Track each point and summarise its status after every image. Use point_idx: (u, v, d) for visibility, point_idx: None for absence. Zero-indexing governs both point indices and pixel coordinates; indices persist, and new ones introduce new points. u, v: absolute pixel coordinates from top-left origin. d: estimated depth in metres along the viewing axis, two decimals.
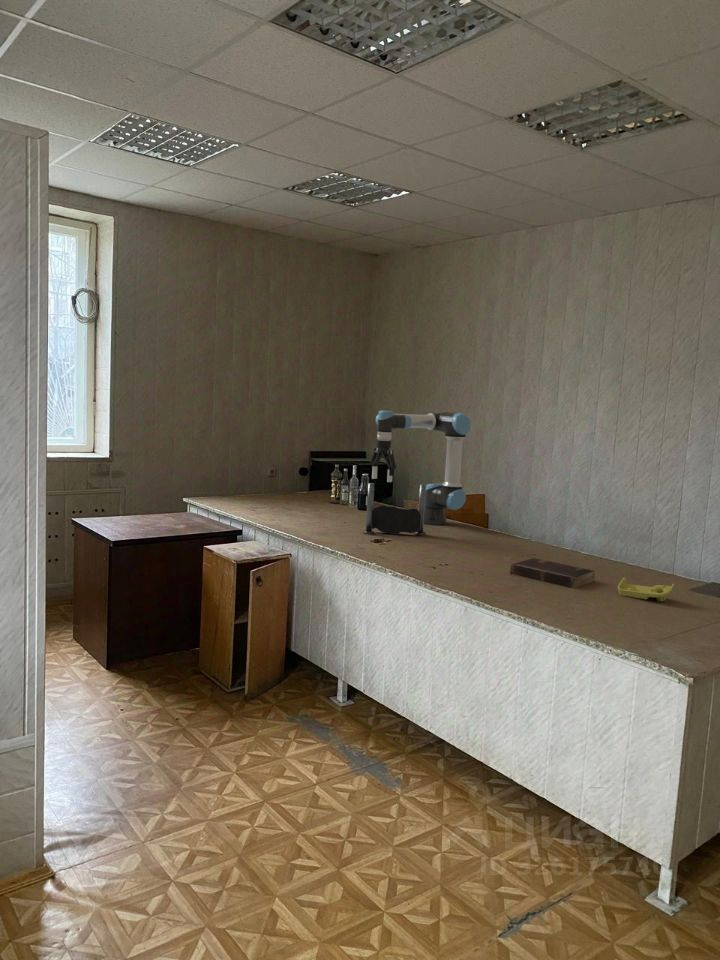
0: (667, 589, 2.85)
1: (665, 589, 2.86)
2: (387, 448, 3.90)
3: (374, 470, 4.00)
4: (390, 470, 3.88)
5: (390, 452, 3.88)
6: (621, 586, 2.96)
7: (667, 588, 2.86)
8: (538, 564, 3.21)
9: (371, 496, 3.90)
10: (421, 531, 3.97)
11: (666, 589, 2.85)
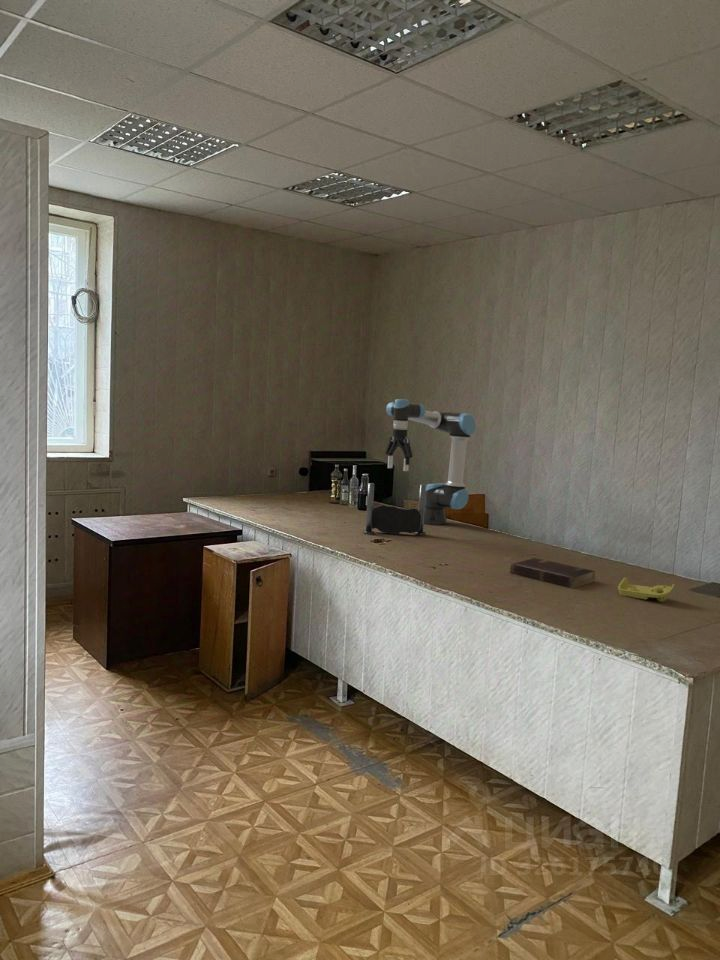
0: (667, 589, 2.85)
1: (665, 589, 2.85)
2: (403, 437, 3.87)
3: (390, 459, 3.96)
4: (406, 459, 3.84)
5: (406, 441, 3.84)
6: (622, 586, 2.96)
7: (667, 588, 2.85)
8: (538, 564, 3.21)
9: (371, 496, 3.90)
10: (421, 531, 3.97)
11: (666, 589, 2.85)
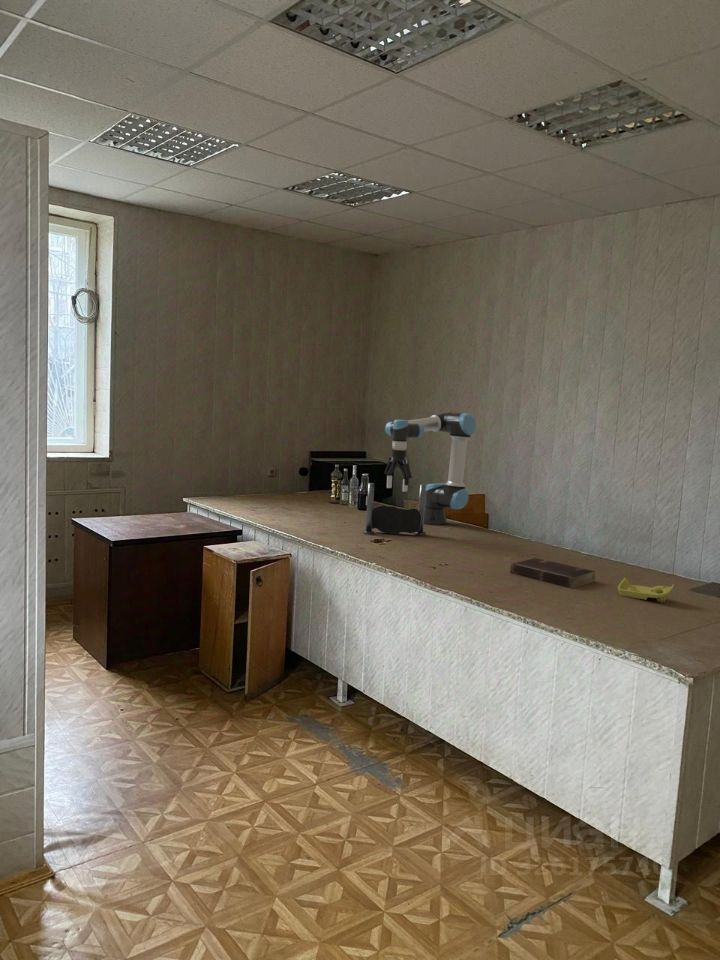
0: (667, 590, 2.84)
1: (665, 590, 2.85)
2: (402, 457, 3.88)
3: (389, 479, 3.98)
4: (405, 480, 3.86)
5: (405, 461, 3.86)
6: (622, 586, 2.95)
7: (667, 589, 2.85)
8: (538, 564, 3.21)
9: (371, 496, 3.90)
10: (421, 531, 3.97)
11: (666, 590, 2.84)
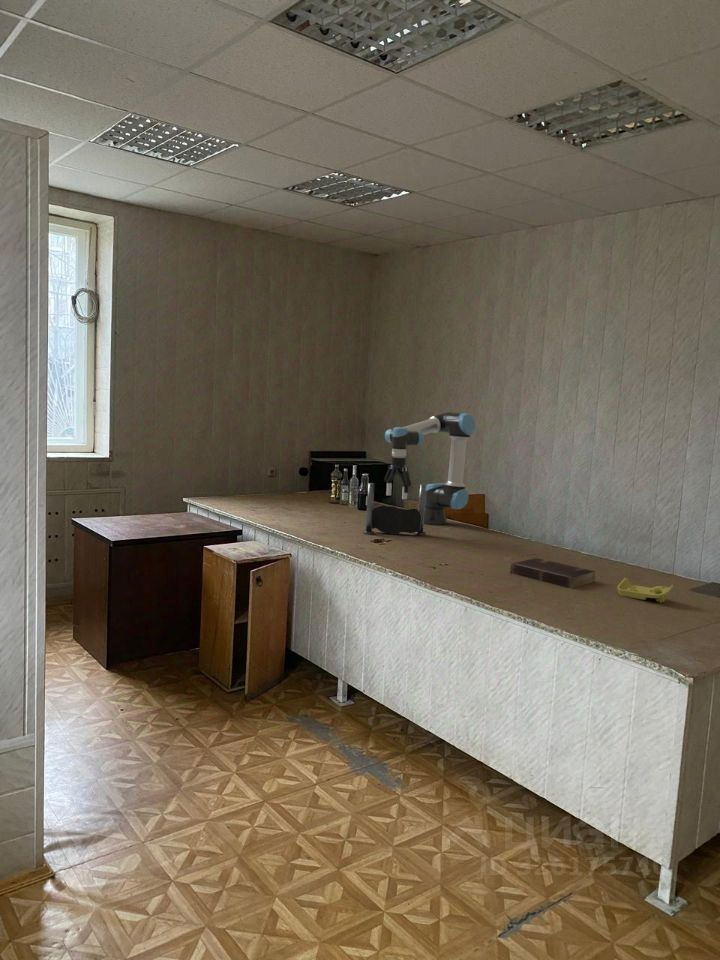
0: (666, 590, 2.83)
1: (664, 590, 2.84)
2: (402, 465, 3.89)
3: (388, 487, 3.98)
4: (405, 487, 3.86)
5: (405, 469, 3.86)
6: (621, 586, 2.95)
7: (666, 589, 2.84)
8: (539, 564, 3.21)
9: (371, 496, 3.90)
10: (421, 531, 3.97)
11: (665, 590, 2.84)
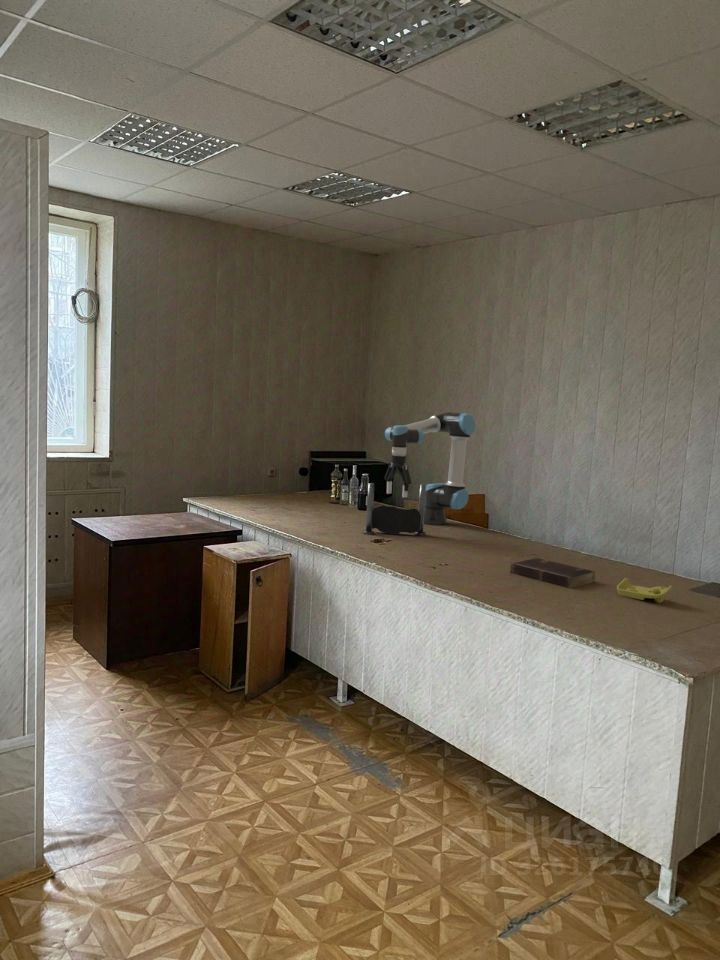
0: (664, 591, 2.83)
1: (662, 591, 2.83)
2: (402, 463, 3.88)
3: (389, 485, 3.98)
4: (405, 485, 3.86)
5: (405, 467, 3.86)
6: (621, 586, 2.95)
7: (664, 590, 2.83)
8: (539, 564, 3.21)
9: (371, 496, 3.90)
10: (421, 531, 3.97)
11: (663, 591, 2.83)
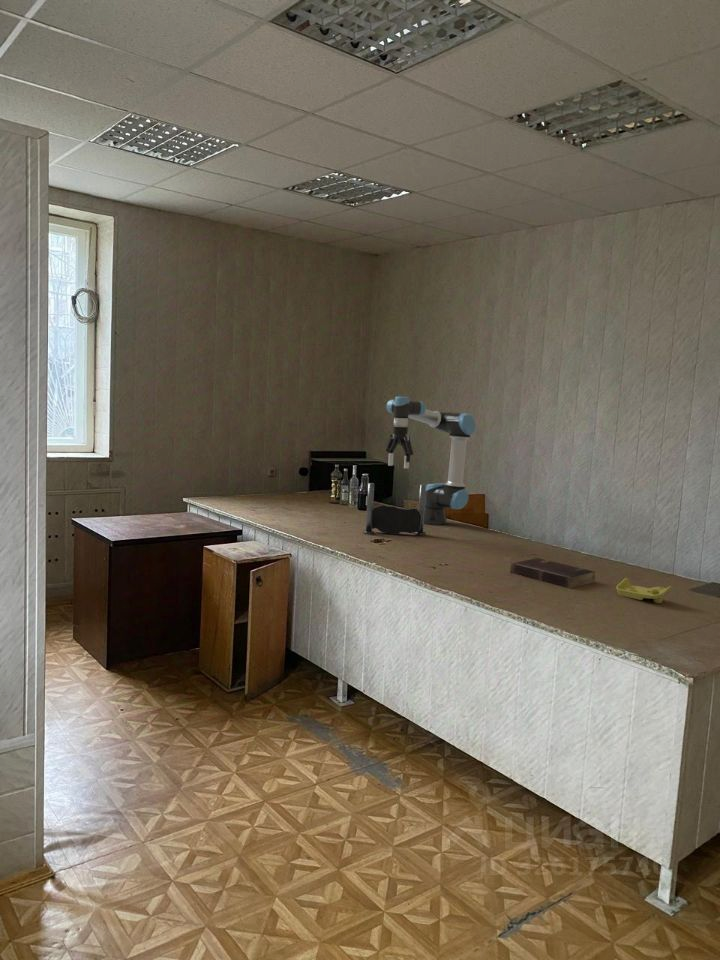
0: (663, 591, 2.82)
1: (661, 591, 2.83)
2: (404, 434, 3.87)
3: (390, 457, 3.96)
4: (407, 456, 3.84)
5: (407, 438, 3.84)
6: (621, 586, 2.95)
7: (663, 590, 2.82)
8: (539, 564, 3.21)
9: (371, 496, 3.90)
10: (421, 531, 3.97)
11: (662, 591, 2.82)
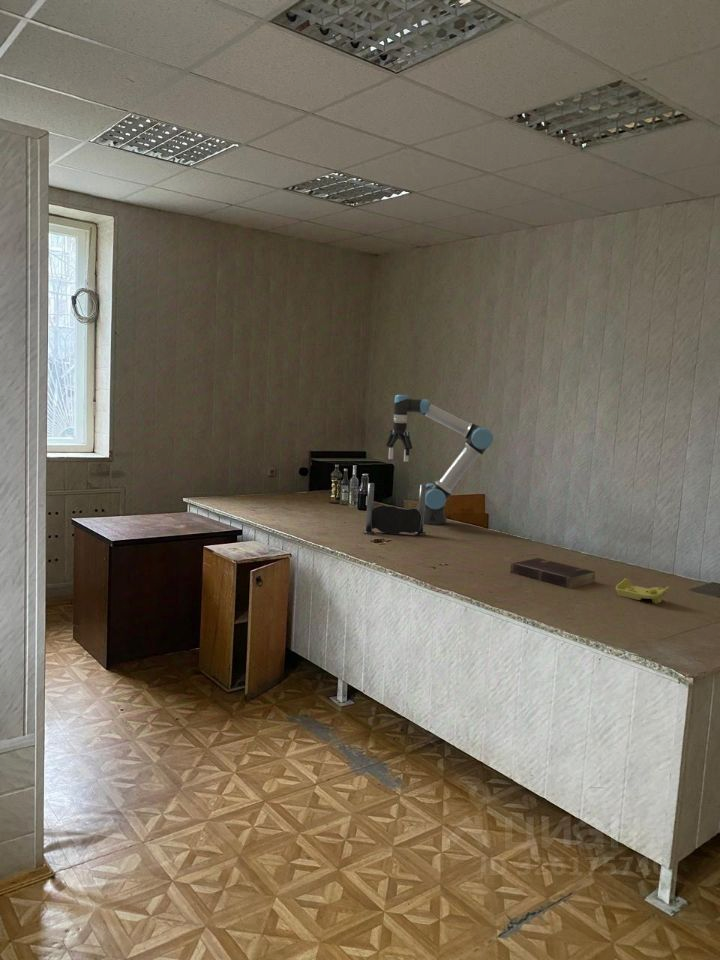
0: (661, 591, 2.81)
1: (659, 591, 2.82)
2: (403, 430, 4.17)
3: (390, 451, 4.26)
4: (406, 450, 4.15)
5: (406, 433, 4.14)
6: (621, 586, 2.95)
7: (661, 590, 2.82)
8: (539, 564, 3.21)
9: (371, 496, 3.90)
10: (421, 531, 3.97)
11: (660, 591, 2.82)
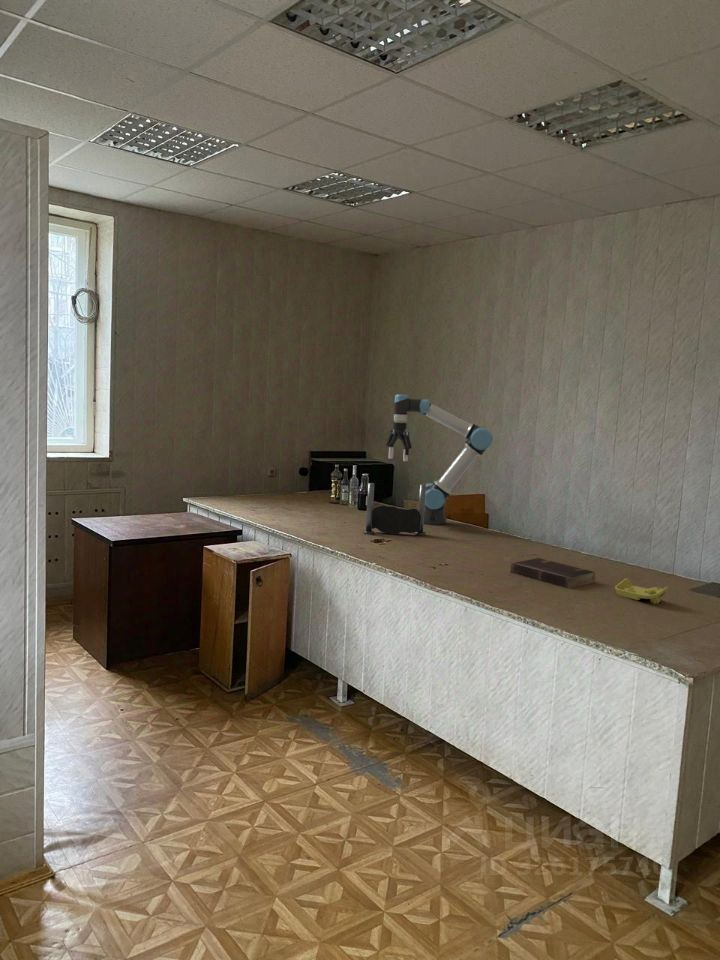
0: (659, 592, 2.81)
1: (658, 591, 2.81)
2: (403, 429, 4.18)
3: (390, 451, 4.27)
4: (406, 450, 4.15)
5: (406, 433, 4.15)
6: (621, 586, 2.95)
7: (660, 591, 2.81)
8: (539, 564, 3.21)
9: (371, 496, 3.90)
10: (421, 531, 3.97)
11: (658, 591, 2.81)
